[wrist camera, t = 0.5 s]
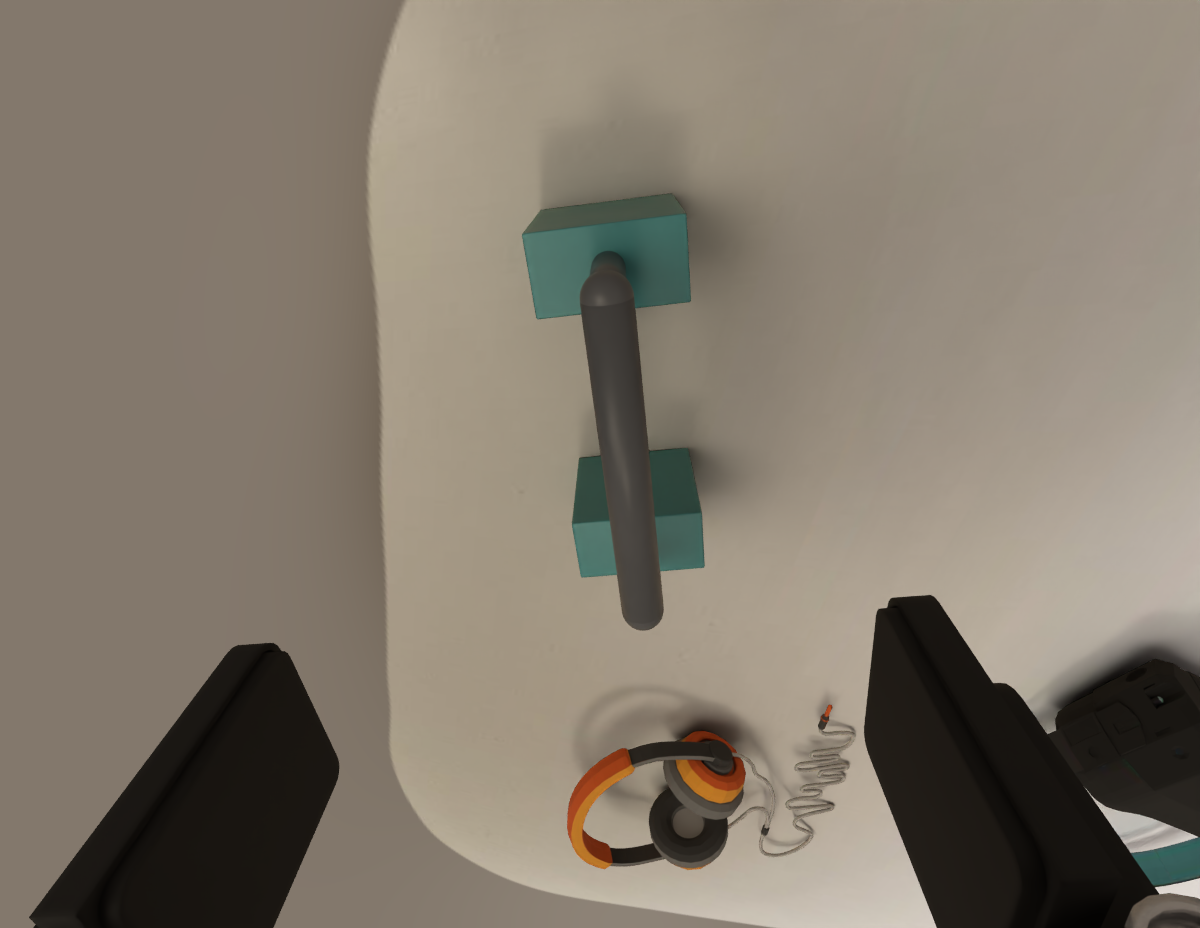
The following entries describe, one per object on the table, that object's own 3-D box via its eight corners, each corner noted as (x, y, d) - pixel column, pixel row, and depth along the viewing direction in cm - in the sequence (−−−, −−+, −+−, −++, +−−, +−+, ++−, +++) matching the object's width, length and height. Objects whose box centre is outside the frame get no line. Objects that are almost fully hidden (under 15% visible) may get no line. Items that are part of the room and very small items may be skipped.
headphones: (830, 887, 46) (562, 934, 42) (796, 817, 51) (550, 852, 46) (912, 735, 38) (591, 772, 34) (863, 668, 43) (574, 692, 38)
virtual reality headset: (1387, 724, 39) (1568, 914, 31) (1068, 840, 52) (1140, 997, 44) (1186, 612, 35) (1337, 799, 27) (892, 768, 47) (936, 927, 39)
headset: (540, 210, 27) (498, 262, 17) (672, 193, 26) (704, 237, 17) (586, 506, 34) (574, 657, 25) (691, 496, 34) (720, 647, 24)
